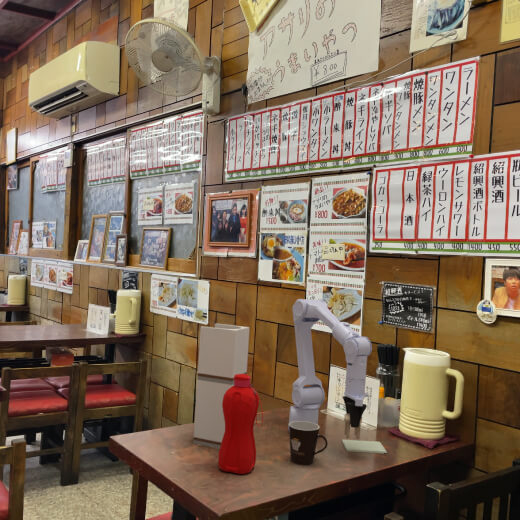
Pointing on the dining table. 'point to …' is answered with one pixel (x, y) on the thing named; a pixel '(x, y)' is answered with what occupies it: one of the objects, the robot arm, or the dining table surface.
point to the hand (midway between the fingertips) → (352, 424)
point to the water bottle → (239, 426)
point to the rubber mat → (364, 446)
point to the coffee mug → (304, 442)
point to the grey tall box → (217, 378)
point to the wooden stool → (347, 427)
